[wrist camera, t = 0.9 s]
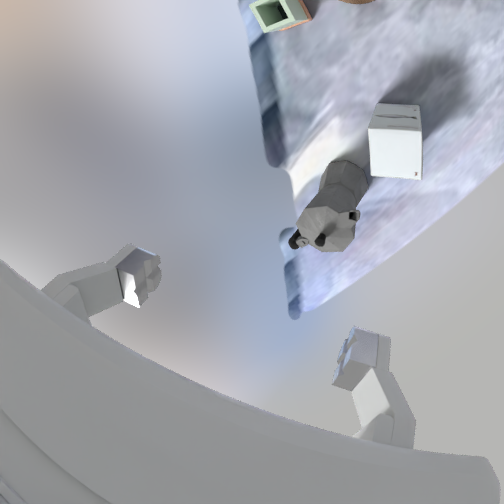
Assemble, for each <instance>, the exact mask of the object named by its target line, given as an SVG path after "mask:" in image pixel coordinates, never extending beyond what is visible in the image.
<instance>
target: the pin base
mask: <svg viewBox="0 0 504 504" xmlns="http://www.w3.org/2000/svg"><path fill="white" fill-rule="evenodd" d="M340 1H343V2H346V3H351V4H365V3H369V2H372V1H375V0H340Z"/></svg>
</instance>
